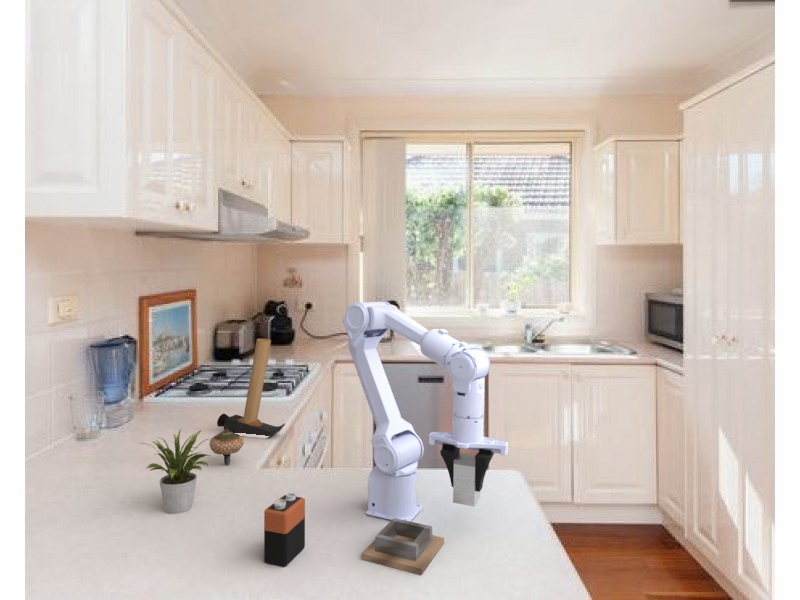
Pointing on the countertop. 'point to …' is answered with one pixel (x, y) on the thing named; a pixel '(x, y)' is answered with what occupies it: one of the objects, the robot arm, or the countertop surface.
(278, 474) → the countertop surface
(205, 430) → the countertop surface
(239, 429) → the hammer
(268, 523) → the battery
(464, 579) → the countertop surface
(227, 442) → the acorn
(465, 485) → the peg
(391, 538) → the socket block
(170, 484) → the house plant
